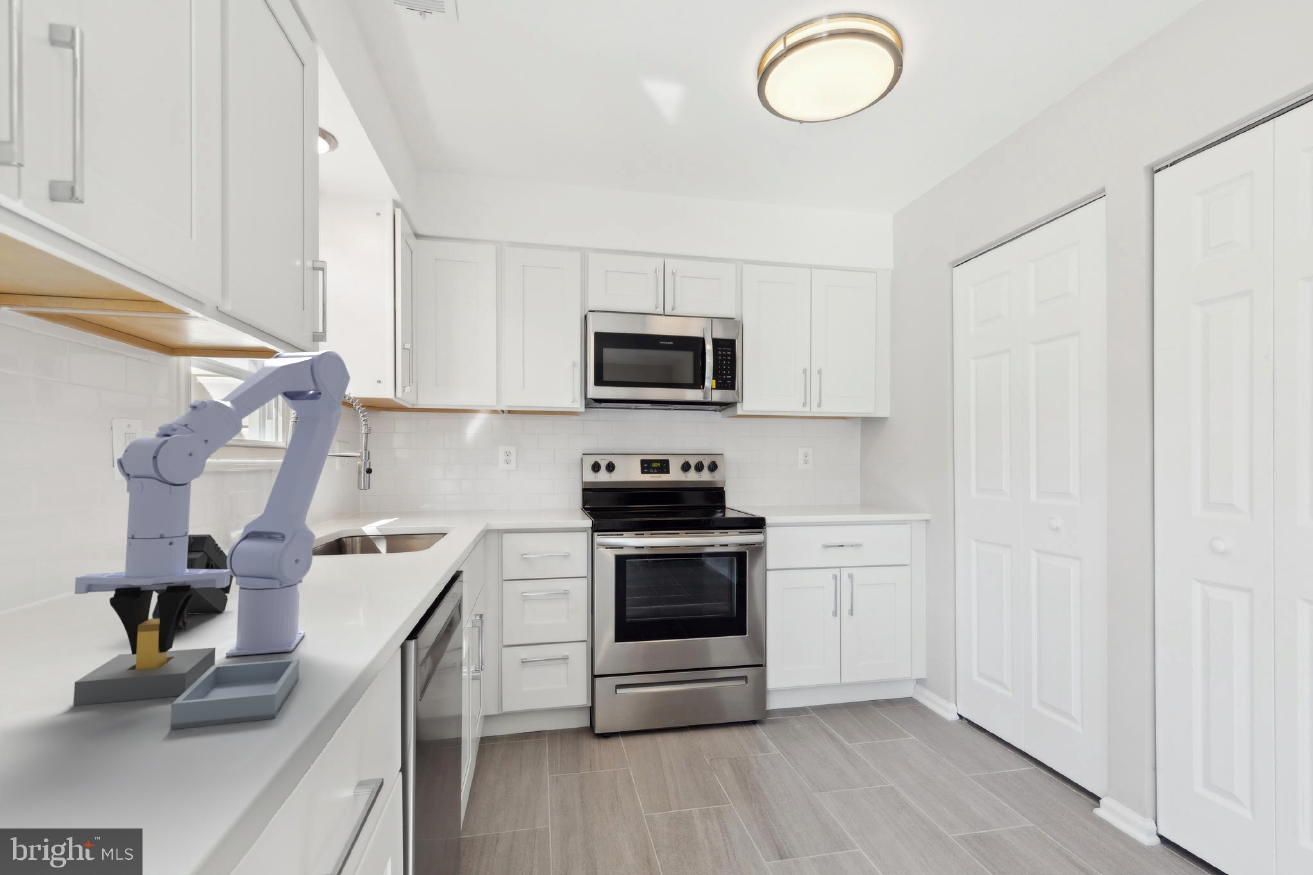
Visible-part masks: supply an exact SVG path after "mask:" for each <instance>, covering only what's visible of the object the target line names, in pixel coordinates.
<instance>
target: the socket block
mask: <svg viewBox="0 0 1313 875" xmlns="http://www.w3.org/2000/svg"><path fill="white" fill-rule="evenodd" d="M215 663H216V647H206V648H205V647H204V648H192V649H176V650H168V651H167V663H166V664H165V665H163V666H162V667H161V668H150V669H137V670H136V654H134V655H132V653H123V654H118V655H116V656H115V657H113V658H112V659H110V660H108V661H107V662H105V663H103V664H101V665H100V666H99V667H97V668H95V669H94V670H92V671H90V672H89V673H87V674H86V675H84V676H82V677H81V678H79V679H78V680H76V681H74V690H73V702H72V704H73V707H74V706H83V705H93V704H103V703H114V702H115V703H116V702H117V703H118V702H127V701H138V700H145V699H146V700H148V699H150V700H151V699H159V698H168V697H169V698H170V697H171V698H172V697H180V696H181V695H182V694H183V693H184V692H185V691H186V690H187V689H188V688H189V687H190V686H191V685H193V684H194V683H195V682H196V681H197V680H198V679H199V678H200V677H201V676H202V675H203V674H204V673H205V672H207V671H208V670H209V669H210V668H211V667H212V666H216V665H215Z"/></svg>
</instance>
